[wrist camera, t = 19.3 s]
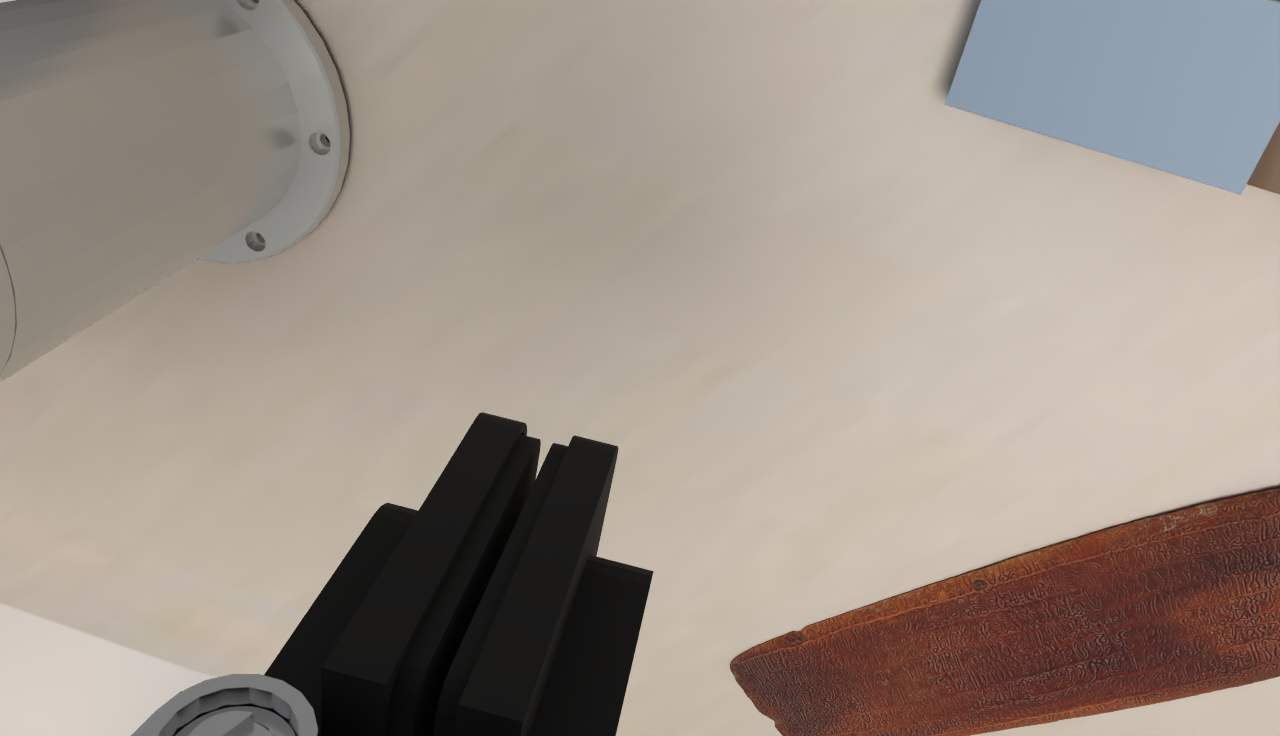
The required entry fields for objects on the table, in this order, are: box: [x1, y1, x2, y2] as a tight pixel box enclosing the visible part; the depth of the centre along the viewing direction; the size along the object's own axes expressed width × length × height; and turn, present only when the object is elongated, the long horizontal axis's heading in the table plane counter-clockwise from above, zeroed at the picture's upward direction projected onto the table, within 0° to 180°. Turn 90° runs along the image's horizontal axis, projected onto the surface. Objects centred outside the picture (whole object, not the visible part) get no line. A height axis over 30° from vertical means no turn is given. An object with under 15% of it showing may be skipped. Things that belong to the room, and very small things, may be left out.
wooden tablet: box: [730, 488, 1280, 736], centre depth 42 cm, size 27×10×2 cm, turn 119°
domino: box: [945, 0, 1280, 195], centre depth 28 cm, size 2×5×9 cm
